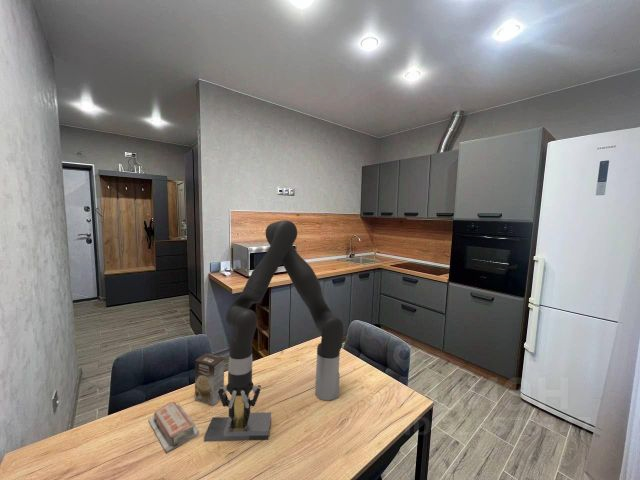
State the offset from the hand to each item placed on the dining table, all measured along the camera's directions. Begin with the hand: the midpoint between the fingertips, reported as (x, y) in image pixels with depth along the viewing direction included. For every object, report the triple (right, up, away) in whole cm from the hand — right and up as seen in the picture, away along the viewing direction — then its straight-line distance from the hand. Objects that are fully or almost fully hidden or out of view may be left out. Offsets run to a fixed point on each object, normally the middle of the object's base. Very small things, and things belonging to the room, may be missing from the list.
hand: (239, 416), depth 87 cm
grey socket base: (0, -5, 0) cm, 5 cm away
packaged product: (-22, -5, 0) cm, 23 cm away
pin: (0, -4, 0) cm, 4 cm away
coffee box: (-16, -3, +15) cm, 22 cm away
